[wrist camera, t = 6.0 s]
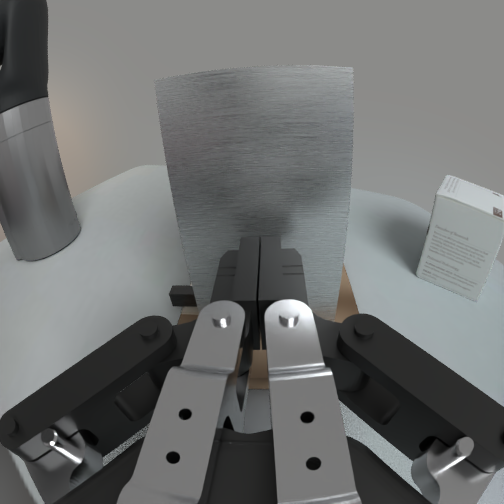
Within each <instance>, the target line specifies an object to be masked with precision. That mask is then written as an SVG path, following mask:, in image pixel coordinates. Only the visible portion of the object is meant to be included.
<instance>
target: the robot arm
mask: <svg viewBox="0 0 504 504" xmlns="http://www.w3.org/2000/svg"><path fill="white" fill-rule="evenodd" d="M47 41H48V7H47V2H46V0H0V65H2V67H1V70H0V223H1V225H2V227H3V230H4V233H5V235H6V237H7V240H8V242H9V244H10V247H11V249H12V251H13V253H14V256H15V258H16V260H20V259H24V260H26V261H33V260H38V259H42V258H45V257H47V256H50V255H52V254H54V253H56V252H57V251H59V250H61V249H62V248H64V247H65V246H67V245H68V244H69V243H70V242H72V241H73V240H74V239H75V238H76V236H77V235H78V234H79V232H80V229H81V227H80V224H79V221H78V218H77V214H76V211H75V209H74V205H73V202H72V199H71V195H70V192H69V189H68V185H67V182H66V178H65V175H64V171H63V167H62V163H61V159H60V155H59V150H58V146H57V141H56V137H55V132H54V127H53V121H52V117H51V111H50V105H49V98H48V91H47V83H48V55H47V54H48V50H47V49H48V46H47V44H48V42H47ZM260 341H261V342H262V350H266V352H267V371H268V385H269V400H270V414H271V430H267V431H262V432H258V433H253V434H244V414H245V408H246V402H247V396H248V390H249V383H250V377H251V371H252V366H251V365H252V361H253V350H260ZM146 372H147V373H146ZM142 375H143V376H142ZM139 377H140V378H139ZM138 378H139V379H138ZM135 380H136V381H135ZM134 381H135V382H134ZM131 383H132V384H131ZM130 384H131V385H130ZM127 386H128V387H127ZM123 389H124V390H123ZM119 392H120V393H119ZM338 399H339V400H340V401H341V402H342V403H343V404H344V405H346V406H347V407H348V408H349V409H350V410H351V411H353V412H354V413H355V414H356V415H357V416H358V417H360V418H361V419H362V420H363V421H364V422H365V423H367V424H368V425H369V426H370V427H371V428H373V429H374V430H375V431H376V432H377V433H379V434H380V435H381V436H382V437H383V438H385V439H386V440H387V441H388V442H389V443H391V444H392V445H393V446H394V447H396V448H397V449H398V450H399V451H401V452H402V453H403V454H404V455H406V456H407V457H408V458H409V459H411V460H412V461H413V464H412V467H411V476H412V479H413V481H414V483H415V484H416V485H417V486H418V487H419V489H420V490H421V493H422V495H421V494H420V493H419V492H418V491H417V490H415V489H414V488H413V487H412V486H411V485H410V484H408V483H407V482H406V481H405V480H404V479H403V478H401V477H400V476H399V475H398V474H397V473H396V472H395V471H393V470H392V469H391V468H390V467H389V466H388V465H387V464H386V463H384V462H383V461H382V460H381V459H380V458H379V457H378V456H377V455H376V454H375V453H373V452H372V451H371V450H370V449H369V448H368V447H367V446H365V445H364V444H362V443H361V442H359V441H357V440H355V439H353V438H351V437H348V436H346V433H345V428H344V423H343V418H342V414H341V409H340V404H339V400H338ZM149 423H150V425H149V428H148V431H147V434H146V436H144V437H142V438H141V439H139V440H138V441H136V442H135V443H134V444H132V445H131V446H130V447H129V448H127V449H126V450H125V451H123V452H122V453H121V454H120V455H118V456H117V457H116V458H115V459H113V460H112V461H111V462H109V463H108V464H107V465H105V466H103V457H104V456H106V455H107V454H108V453H110V452H111V451H113V450H114V449H115V448H117V447H118V446H119V445H121V444H122V443H124V442H125V441H126V440H128V439H129V438H130V437H132V436H133V435H134V434H136V433H137V432H138V431H140V430H141V429H142V428H143V427H145V426H146V425H147V424H149ZM0 442H1V444H2V445H3V446H4V447H6V448H7V449H9V450H10V451H11V452H13V453H15V454H16V455H18V456H19V457H20V458H21V459H22V460H23V461H24V462H25V464H26V467H27V469H28V471H29V473H30V475H31V477H32V479H33V481H34V483H35V485H36V487H37V489H38V491H39V493H40V495H41V497H42V499H43V501H44V502H45V504H476V503H477V502H478V500H479V499H480V497H481V496H482V494H483V493H484V491H485V489H486V488H487V486H488V485H489V483H490V481H491V479H492V478H493V476H494V474H495V473H496V472H497V471H498V470H500V469H501V468H503V467H504V407H503V406H501V405H500V404H499V403H497V402H496V401H495V400H493V399H492V398H490V397H489V396H488V395H486V394H485V393H483V392H482V391H481V390H479V389H478V388H476V387H475V386H474V385H472V384H471V383H469V382H468V381H467V380H465V379H464V378H462V377H461V376H460V375H458V374H457V373H455V372H454V371H453V370H451V369H450V368H448V367H447V366H446V365H444V364H443V363H441V362H440V361H438V360H437V359H436V358H434V357H433V356H431V355H430V354H428V353H427V352H426V351H424V350H423V349H421V348H420V347H418V346H417V345H416V344H414V343H413V342H411V341H410V340H408V339H407V338H405V337H404V336H403V335H401V334H400V333H398V332H397V331H395V330H394V329H392V328H391V327H389V326H388V325H387V324H385V323H384V322H382V321H381V320H379V319H378V318H376V317H374V316H372V315H368V314H354V315H351V316H349V317H347V318H346V319H345V320H344V321H343V322H342V323H339V322H334V321H329V320H325V319H323V318H321V317H319V316H317V315H316V314H315V313H314V312H313V311H312V310H311V309H310V307H309V304H308V298H307V290H306V283H305V276H304V269H303V263H302V256H301V255H300V254H299V253H298V251H297V250H296V249H295V248H286V249H281V236H262V237H261V239H260V236H256V237H241V240H240V246H239V250H227V252H226V253H225V254H224V255H223V256H222V257H221V258H220V262H219V266H218V270H217V275H216V279H215V283H214V287H213V292H212V296H211V300H210V304H208V305H207V306H205V307H204V308H203V309H202V310H201V312H200V313H199V315H198V318H197V319H196V320H193V321H191V322H188V323H183V324H179V325H174V326H172V325H171V323H170V321H169V320H167V319H166V318H164V317H161V316H148V317H145V318H143V319H141V320H139V321H137V322H136V323H134V324H133V325H131V326H130V327H128V328H127V329H126V330H124V331H123V332H121V333H120V334H118V335H117V336H115V337H114V338H112V339H111V340H110V341H108V342H107V343H105V344H104V345H102V346H101V347H99V348H98V349H96V350H95V351H93V352H92V353H91V354H89V355H88V356H86V357H85V358H83V359H82V360H80V361H79V362H78V363H76V364H75V365H73V366H72V367H70V368H69V369H67V370H66V371H64V372H63V373H62V374H60V375H59V376H57V377H56V378H54V379H53V380H51V381H50V382H49V383H47V384H46V385H44V386H43V387H41V388H40V389H39V390H37V391H36V392H34V393H33V394H31V395H30V396H28V397H27V398H26V399H24V400H23V401H21V402H20V403H18V404H17V405H16V406H14V407H13V408H11V409H10V410H8V411H7V412H6V413H5V414H4V415H3V416H2V417H1V419H0Z"/></svg>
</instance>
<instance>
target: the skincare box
mask: <svg viewBox="0 0 504 504" xmlns="http://www.w3.org/2000/svg"><path fill="white" fill-rule="evenodd" d="M503 237H504V196H503V195H501V194H499V193H496V192H494V191H491V190H488V189H486V188H483V187H481V186H478V185H475V184H473V183H470V182H467V181H465V180H462V179H459V178H457V177H454V176H450V175H446V177H445V178H444V180H443V182H442V184H441V185H440V187H439V189H438V191H437V193H436V195H435V201H434V206H433V210H432V215H431V219H430V223H429V227H428V231H427V235H426V239H425V243H424V247H423V250H422V254H421V258H420V261H419V264H418V268H417V271H416V275H417V277H419V278H421V279H423V280H426V281H428V282H430V283H433V284H435V285H438V286H440V287H442V288H445V289H447V290H449V291H452V292H454V293H456V294H459V295H461V296H463V297H465V298H468V299H470V300H472V301H475V302H477V301H478V298H479V296H480V294H481V292H482V290H483V287H484V285H485V283H486V281H487V278H488V276H489V274H490V271H491V269H492V266H493V264H494V261H495V259H496V256H497V254H498V251H499V248H500V245H501V242H502V240H503Z"/></svg>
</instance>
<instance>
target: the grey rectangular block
mask: <svg viewBox="0 0 504 504" xmlns="http://www.w3.org/2000/svg"><path fill="white" fill-rule="evenodd" d="M154 83H155V91H156V99H157V107H158V114H159V121H160V128H161V134H162V140H163V147H164V153H165V159H166V165H167V170H168V176H169V181H170V187H171V192H172V197H173V202H174V207H175V212H176V217H177V222H178V227H179V231H180V236H181V241H182V245H183V249H184V254H185V258H186V263H187V267H188V271H189V275H190V279H191V283H192V286H172V288H171V291H170V293H169V295H170V299H171V302H172V305H173V306H191V307H198V311H199V313H200V312H201V310H202V309H203V308H204V307H205V306H207V305H208V304H210V300H211V296H212V292H213V287H214V283H215V279H216V275H217V270H218V266H219V262H220V258H221V257H222V256H223V255H224V254H225V253H226V252H227V250H239V246H240V240H241V237H256V236H260V239H261V237H262V236H281V249H286V248H295V249H296V250H297V251H298V253H299V254H300V255H301V256H302V263H303V269H304V276H305V283H306V290H307V298H308V304H309V307H310V309H311V310H312V311H313V312H314V313H315V314H316V315H317V316H319V317H321V318H323V319H325V320H329V321H334V320H335V314H336V308H337V302H338V296H339V290H340V283H341V276H342V269H343V261H344V253H345V244H346V236H347V226H348V216H349V204H350V191H351V177H352V157H353V128H354V85H353V68H348V67H335V66H310V65H309V66H307V65H284V66H282V65H281V66H256V67H242V68H231V69H221V70H212V71H205V72H198V73H191V74H185V75H179V76H173V77H168V78H163V79H158V80H154Z"/></svg>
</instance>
